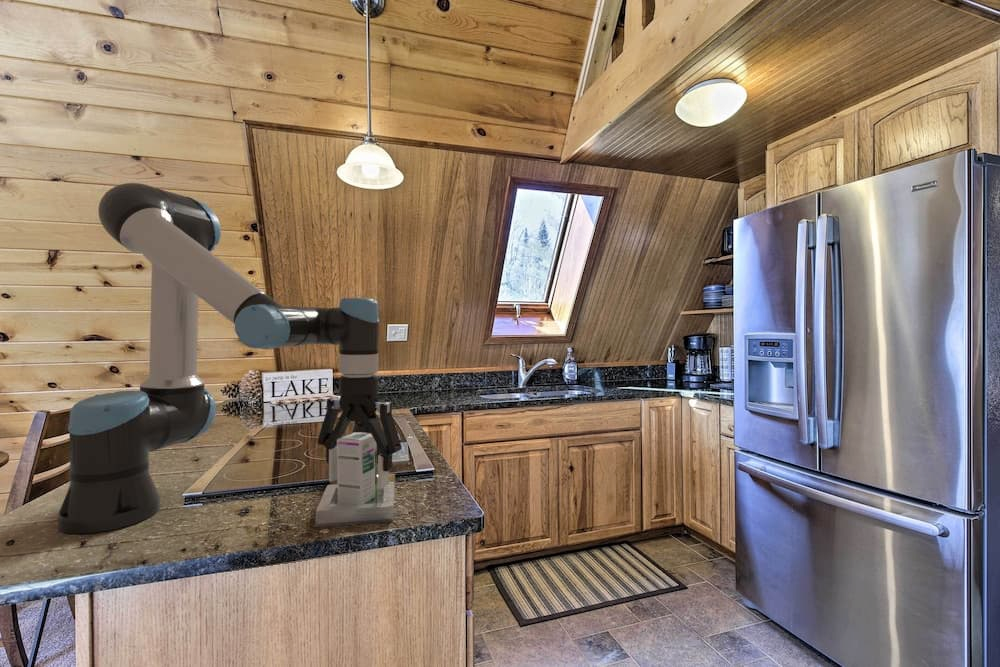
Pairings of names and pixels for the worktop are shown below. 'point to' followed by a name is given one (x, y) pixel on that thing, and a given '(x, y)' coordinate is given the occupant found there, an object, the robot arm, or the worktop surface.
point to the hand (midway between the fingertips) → (358, 482)
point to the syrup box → (357, 469)
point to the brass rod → (391, 479)
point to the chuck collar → (355, 508)
